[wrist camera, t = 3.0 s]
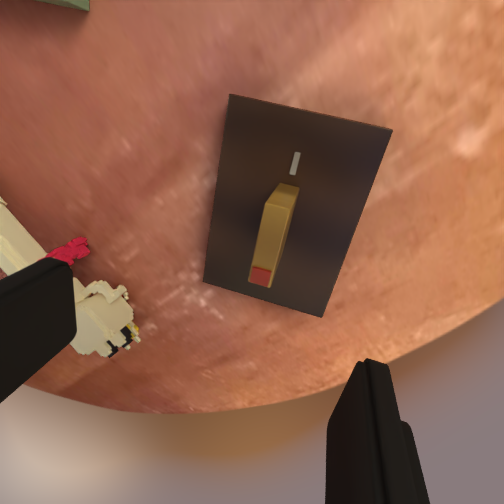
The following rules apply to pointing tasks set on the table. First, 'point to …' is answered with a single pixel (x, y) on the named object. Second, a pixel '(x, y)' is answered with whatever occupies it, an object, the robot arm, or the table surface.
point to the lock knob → (272, 234)
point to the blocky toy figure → (87, 309)
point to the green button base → (70, 3)
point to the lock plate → (307, 204)
